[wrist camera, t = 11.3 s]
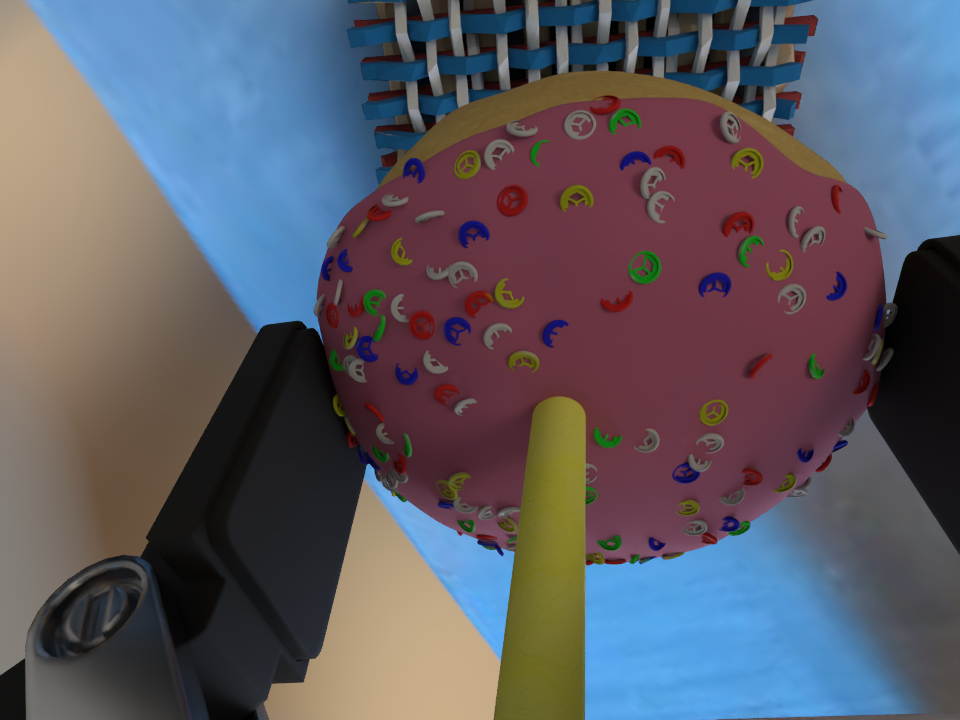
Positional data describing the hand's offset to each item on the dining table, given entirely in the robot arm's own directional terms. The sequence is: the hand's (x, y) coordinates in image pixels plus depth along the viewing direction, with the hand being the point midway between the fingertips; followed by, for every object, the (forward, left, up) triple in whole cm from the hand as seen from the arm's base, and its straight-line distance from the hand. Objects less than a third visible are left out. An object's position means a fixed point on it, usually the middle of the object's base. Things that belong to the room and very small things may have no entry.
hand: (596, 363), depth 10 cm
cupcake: (0, 0, -5) cm, 5 cm away
